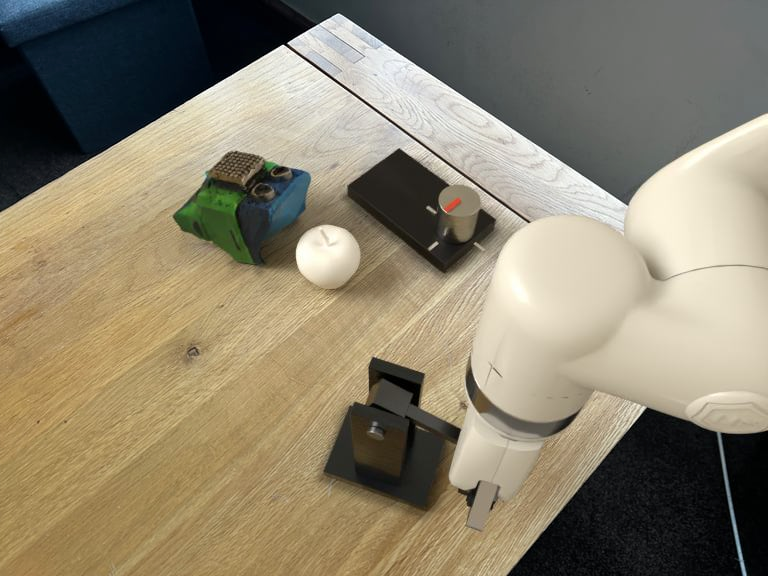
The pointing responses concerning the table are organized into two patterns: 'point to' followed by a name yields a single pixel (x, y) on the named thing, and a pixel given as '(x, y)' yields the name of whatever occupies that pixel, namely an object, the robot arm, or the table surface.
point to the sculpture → (244, 204)
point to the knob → (457, 214)
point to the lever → (409, 410)
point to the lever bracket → (387, 444)
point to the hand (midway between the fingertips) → (484, 465)
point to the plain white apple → (328, 256)
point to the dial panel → (413, 207)
